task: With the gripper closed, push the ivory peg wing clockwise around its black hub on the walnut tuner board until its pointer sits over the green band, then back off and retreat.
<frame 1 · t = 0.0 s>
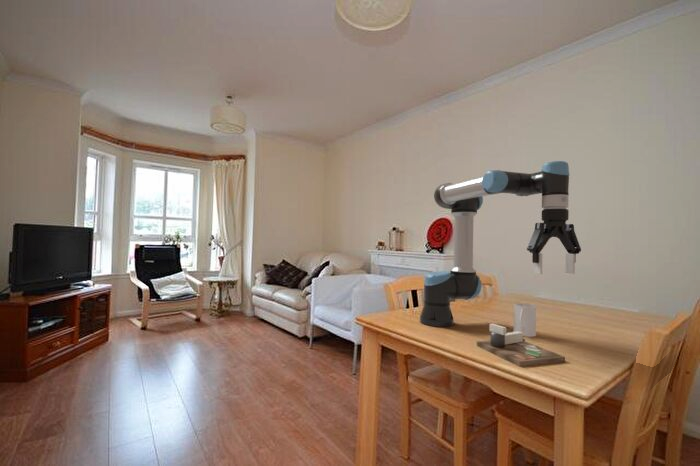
hand: (554, 273, 106), 28 cm above the table, fingers open, 13 cm apart
peg lever: (509, 333, 116), point 5 cm above the table, hinge at 100.0°
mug: (523, 335, 133), on the table
tuner board: (517, 353, 110), on the table
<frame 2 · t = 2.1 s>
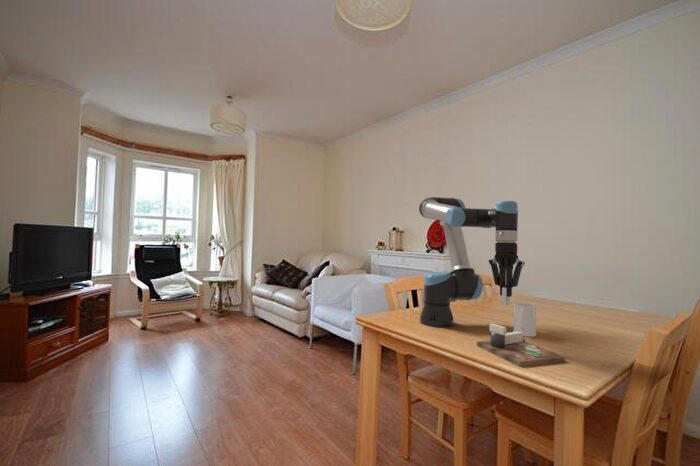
hand: (505, 304, 121), 14 cm above the table, fingers closed
nothing on the table moved.
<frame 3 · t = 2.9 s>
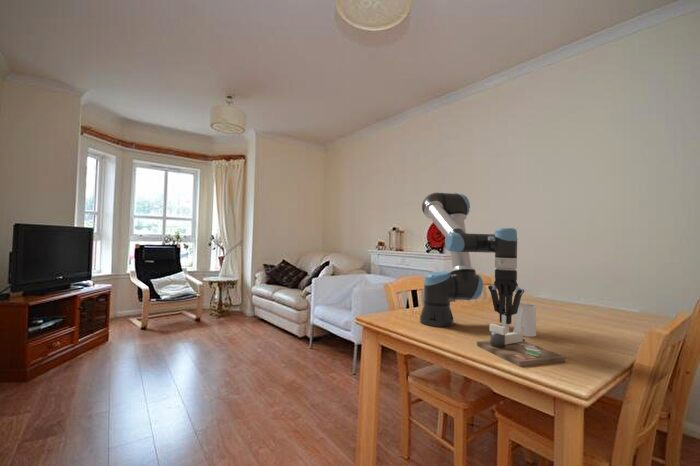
hand: (505, 332, 121), 4 cm above the table, fingers closed
nothing on the table moved.
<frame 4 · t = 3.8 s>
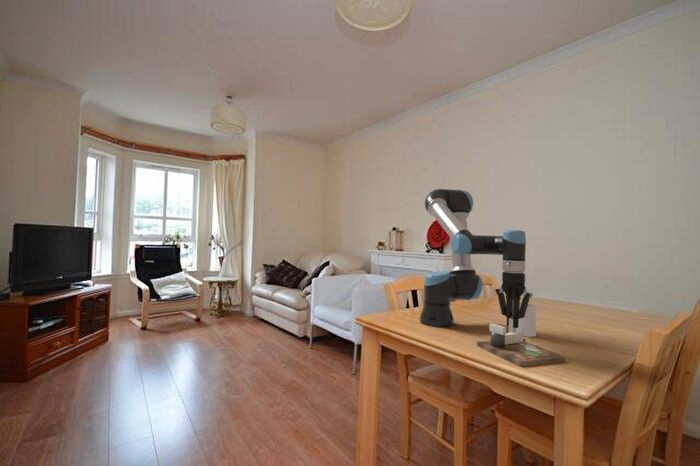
hand: (512, 336, 119), 3 cm above the table, fingers closed
peg lever: (509, 333, 116), point 5 cm above the table, hinge at 98.9°, touching gripper
everything else where it was.
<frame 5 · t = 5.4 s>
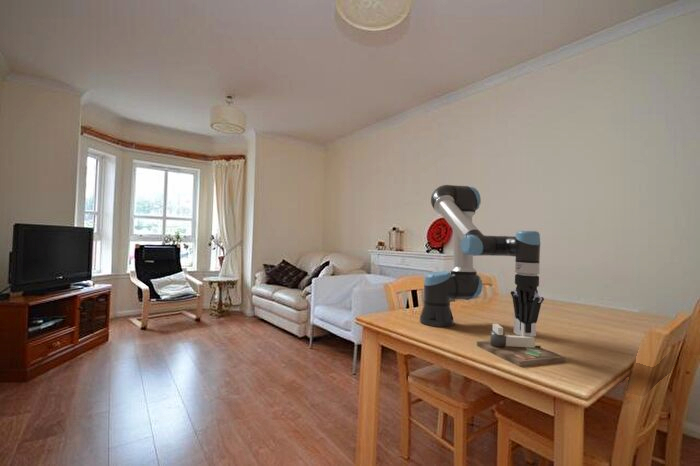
hand: (525, 341, 114), 3 cm above the table, fingers closed
peg lever: (515, 336, 112), point 5 cm above the table, hinge at 67.7°, touching gripper
everything else where it was.
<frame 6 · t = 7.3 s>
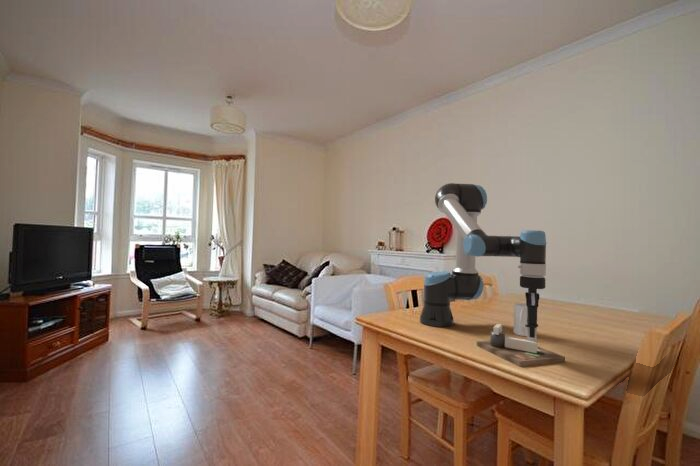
hand: (531, 346, 108), 3 cm above the table, fingers closed
peg lever: (516, 338, 109), point 5 cm above the table, hinge at 37.6°, touching gripper
everything else where it was.
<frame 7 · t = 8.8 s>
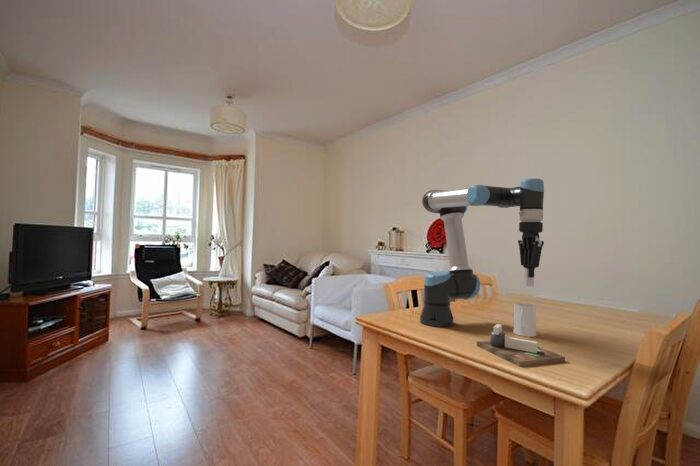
hand: (528, 286, 118), 22 cm above the table, fingers closed
peg lever: (516, 338, 109), point 5 cm above the table, hinge at 37.6°
everything else where it was.
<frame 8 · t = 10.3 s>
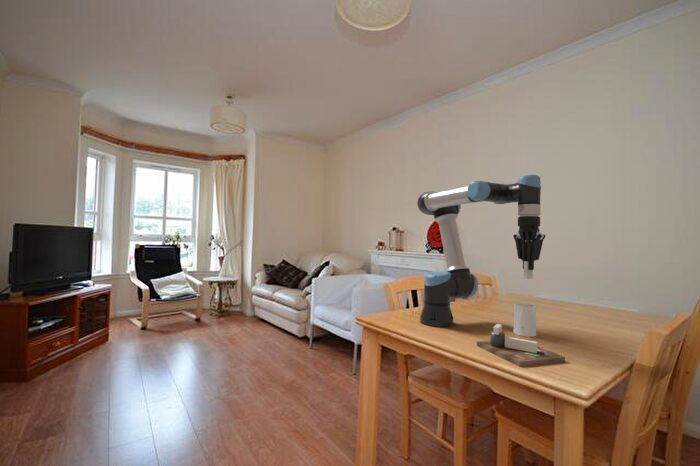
hand: (528, 278, 122), 24 cm above the table, fingers closed
nothing on the table moved.
at the end: peg lever at +38° (first picture: +100°) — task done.
